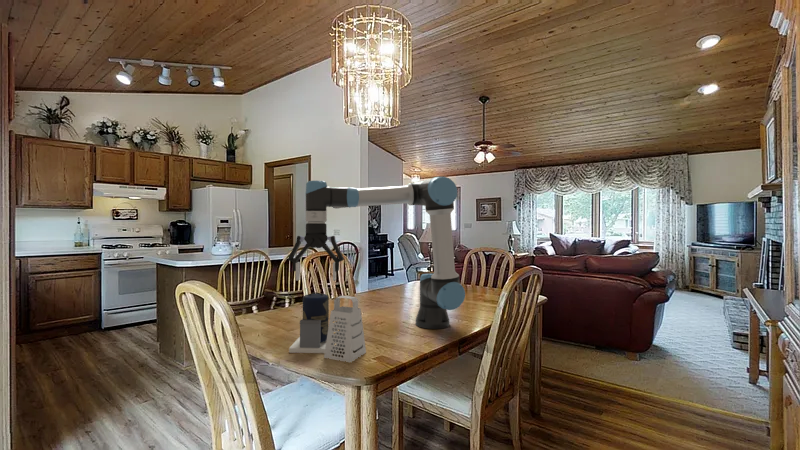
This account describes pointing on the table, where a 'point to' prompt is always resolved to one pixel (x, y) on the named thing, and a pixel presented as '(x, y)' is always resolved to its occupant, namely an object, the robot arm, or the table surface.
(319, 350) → the napkin holder
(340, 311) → the grater
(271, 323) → the table surface
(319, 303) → the canister
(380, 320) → the table surface
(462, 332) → the table surface
